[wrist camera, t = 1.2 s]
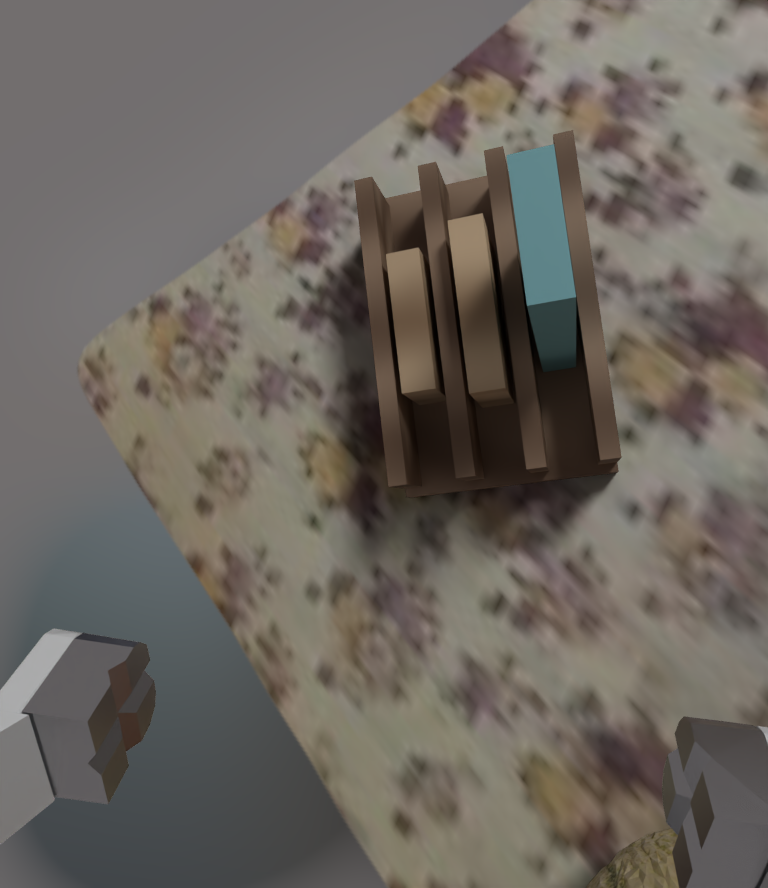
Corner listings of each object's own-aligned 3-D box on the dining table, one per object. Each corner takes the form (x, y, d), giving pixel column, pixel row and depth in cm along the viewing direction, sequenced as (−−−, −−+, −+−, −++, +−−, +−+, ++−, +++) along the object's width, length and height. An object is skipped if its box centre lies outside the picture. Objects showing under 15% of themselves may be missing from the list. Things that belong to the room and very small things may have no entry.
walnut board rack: (379, 210, 46) (353, 172, 41) (572, 168, 43) (571, 121, 38) (411, 497, 44) (389, 495, 39) (616, 472, 41) (622, 467, 36)
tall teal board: (529, 269, 42) (506, 155, 28) (561, 262, 41) (553, 144, 28) (543, 372, 41) (527, 305, 28) (576, 367, 41) (576, 297, 27)
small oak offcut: (404, 279, 44) (385, 254, 39) (434, 273, 43) (418, 247, 39) (419, 405, 43) (402, 393, 38) (450, 400, 42) (435, 388, 38)
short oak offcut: (463, 256, 43) (447, 220, 38) (494, 250, 42) (482, 213, 37) (482, 407, 42) (469, 393, 37) (514, 403, 41) (505, 387, 36)
